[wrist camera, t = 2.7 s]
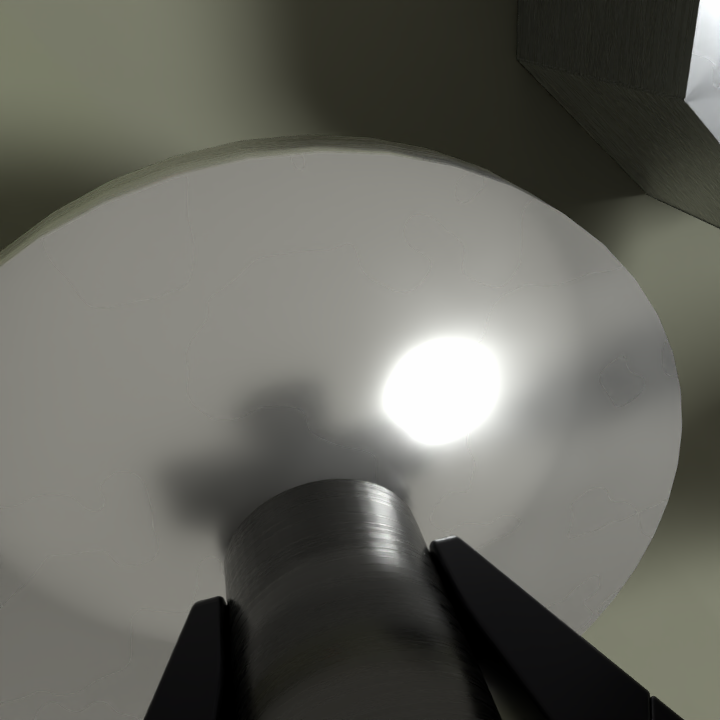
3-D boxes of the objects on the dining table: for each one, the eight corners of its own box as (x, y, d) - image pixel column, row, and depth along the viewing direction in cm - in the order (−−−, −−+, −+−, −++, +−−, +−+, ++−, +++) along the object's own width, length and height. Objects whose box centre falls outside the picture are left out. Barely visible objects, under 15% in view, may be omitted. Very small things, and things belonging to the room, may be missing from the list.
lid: (652, 59, 9) (1300, 175, 4) (586, 604, 16) (803, 939, 10) (-274, 203, 8) (-1382, 758, 2) (69, 751, 14) (-3, 1247, 9)
